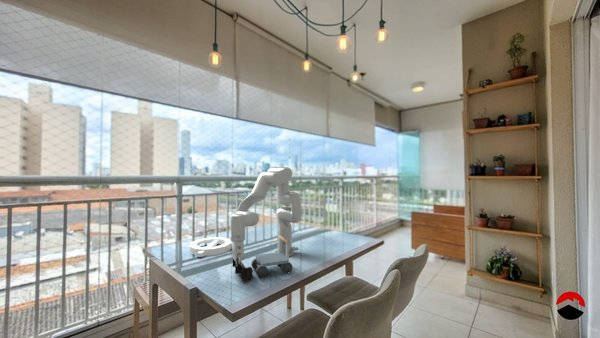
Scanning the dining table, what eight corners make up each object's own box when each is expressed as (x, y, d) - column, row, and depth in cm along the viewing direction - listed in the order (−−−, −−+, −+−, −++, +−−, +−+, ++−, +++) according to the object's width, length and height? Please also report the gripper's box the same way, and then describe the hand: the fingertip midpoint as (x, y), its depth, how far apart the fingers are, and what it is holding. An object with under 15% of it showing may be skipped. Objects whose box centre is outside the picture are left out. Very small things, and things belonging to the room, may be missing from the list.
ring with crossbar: (221, 241, 190) (221, 235, 190) (238, 250, 170) (238, 243, 170) (184, 248, 171) (184, 242, 171) (198, 259, 151) (198, 252, 151)
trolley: (284, 263, 145) (284, 234, 145) (292, 273, 132) (293, 240, 132) (251, 268, 137) (251, 237, 137) (256, 279, 124) (257, 245, 124)
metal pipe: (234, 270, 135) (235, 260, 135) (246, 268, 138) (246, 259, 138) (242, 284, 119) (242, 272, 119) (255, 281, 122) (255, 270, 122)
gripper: (248, 241, 120) (247, 275, 120) (242, 232, 136) (241, 263, 136) (232, 242, 117) (231, 277, 117) (228, 234, 133) (227, 264, 133)
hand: (236, 269), depth 126 cm, fingers open, 9 cm apart
